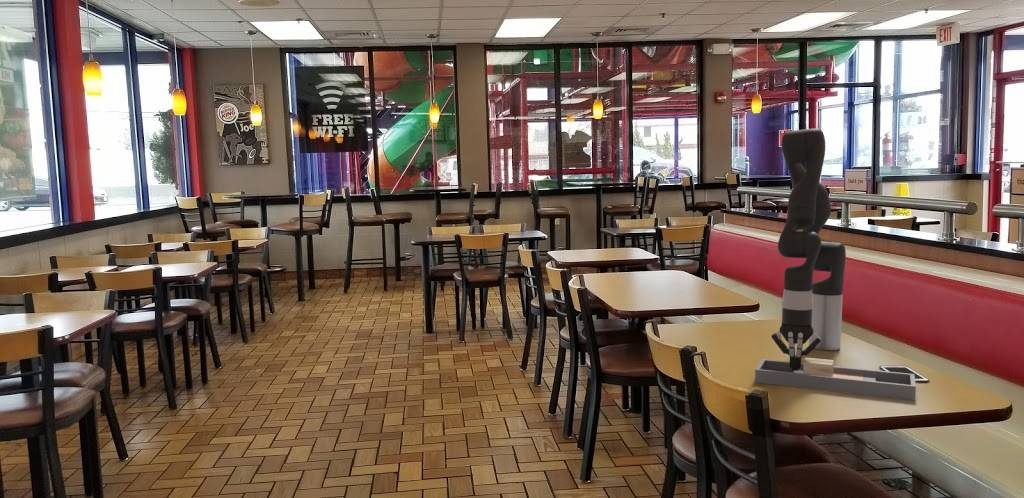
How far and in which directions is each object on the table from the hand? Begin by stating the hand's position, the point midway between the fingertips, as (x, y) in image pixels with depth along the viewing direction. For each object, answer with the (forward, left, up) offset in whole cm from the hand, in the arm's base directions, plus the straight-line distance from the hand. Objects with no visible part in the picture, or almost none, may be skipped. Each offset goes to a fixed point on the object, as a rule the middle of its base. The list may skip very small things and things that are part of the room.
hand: (795, 369), depth 208 cm
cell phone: (-18, +26, -4) cm, 32 cm away
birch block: (0, +6, -1) cm, 6 cm away
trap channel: (0, +10, -3) cm, 10 cm away
